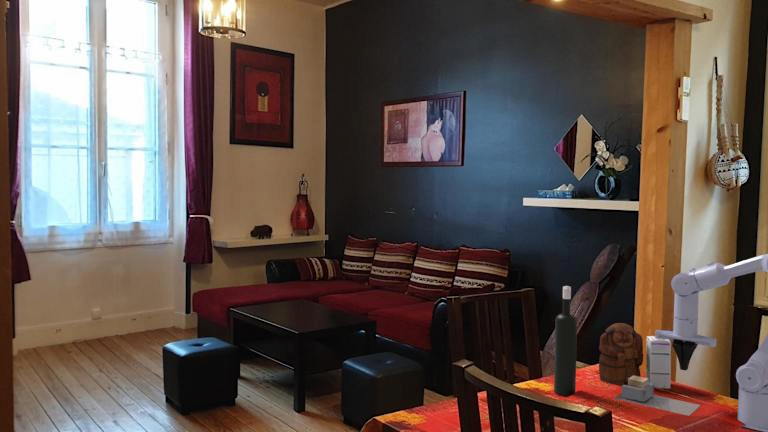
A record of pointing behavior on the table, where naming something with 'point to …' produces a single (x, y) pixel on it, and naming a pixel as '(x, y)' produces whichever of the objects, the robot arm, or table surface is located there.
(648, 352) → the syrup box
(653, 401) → the base plate
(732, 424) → the table surface
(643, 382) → the block
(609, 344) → the wooden figurine
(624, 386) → the housing slider
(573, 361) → the wine bottle
